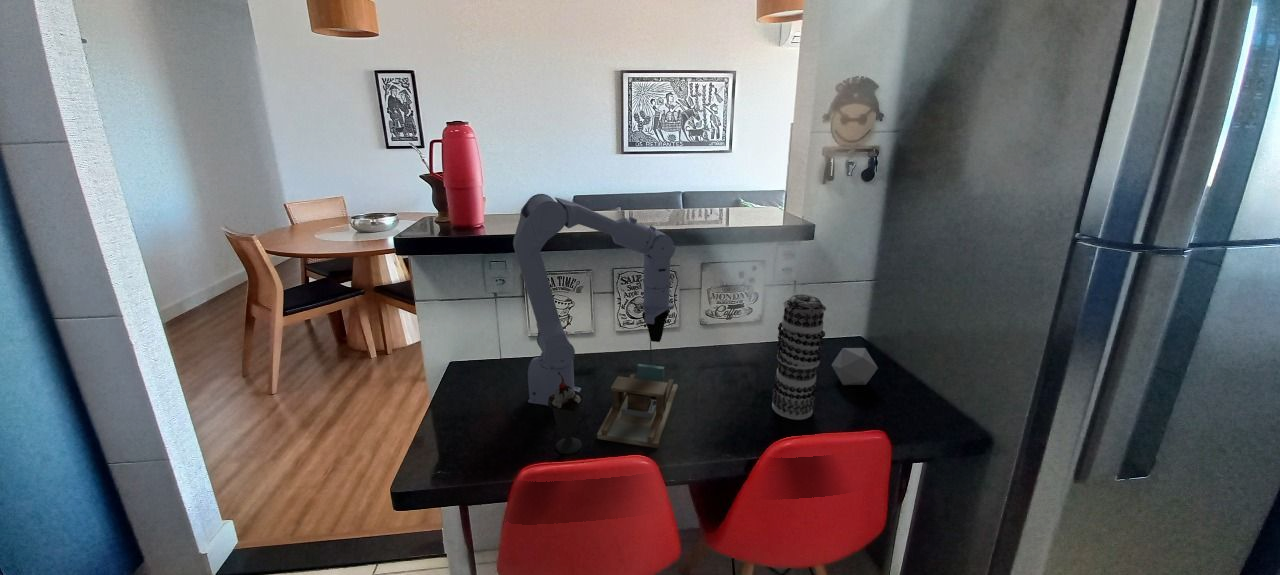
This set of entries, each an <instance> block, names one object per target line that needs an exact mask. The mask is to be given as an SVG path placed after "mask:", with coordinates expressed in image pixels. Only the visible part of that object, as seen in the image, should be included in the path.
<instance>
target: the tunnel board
mask: <svg viewBox="0 0 1280 575" xmlns="http://www.w3.org/2000/svg"><path fill="white" fill-rule="evenodd" d="M678 387H679V384H677V383H674V379H673V378H669V379H668V381H667V382H666V381H664V382H659V381H651V380H643V379H637V378H636V374H633V373H631V374H630V375H629V377H625V376H618V375H617V377H616V378H615V380H614V382H613V384H612V385H611V387H610V391H611V407H610V409H609V410H608V413H607V415H606V417H605V418H604V420H603V422H602V424H601V426H600V427H599V430H598V432H597V433H596V439H597V440H603V441H610V442H615V443H621V444H629V445H636V446H642V447H648V448H654V449H659V447H660V443H661V440H662V436H663V435H664V434H663V433H664V431H665V428H666V425H667V423H668V418H669V416H670V413H671V410H672V407H673V403H674V402H675V398H676V394H677V392H678ZM628 393H634V394H641V395H649V396H651V399H652V400H656V409H655V412H654V415H653V417H652V419H649V418H642V417H636V416H629V415H622V414H621V409H622V408H624V406H625V404H626V402H627V400H628Z"/></svg>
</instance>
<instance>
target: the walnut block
mask: <svg viewBox="0 0 1280 575" xmlns="http://www.w3.org/2000/svg"><path fill="white" fill-rule="evenodd" d="M650 405H651V396H649V395H641V394H634V393H628V409H630V410H637V411H644V412H648V410H649V407H650Z"/></svg>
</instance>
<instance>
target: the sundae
mask: <svg viewBox="0 0 1280 575" xmlns="http://www.w3.org/2000/svg"><path fill="white" fill-rule="evenodd" d="M558 374H559V375H560V372H558ZM560 376H561V375H560ZM561 377H562V376H561ZM583 395H584V394H582V393H581V392H577V391H574V390H573V389H572V388H571V387H569V386H566V383H564V379H563V377H562V383H560V385H559V389H558V390H557V391H556V393H555V394H553V395H551V396H550V397H549V398H548V405H547V406H548V407H549V408H550V409H552V410H553V415H554V420H555V424H556V426H557V428H558V430H560V431H561V432H564V436H565V437H564V438H561V439H560V440H559V441H558V442H557V443H556V444H555V449H556V451H557V452H558V453H560V454H563V455H572V454H576V453H577V452H579V451H580V450H581V449H582V447H583V443H582V441H581V440H580V439H579V438H576V437H573V435H572V432H573V431H575V429H576V428H577V427H578V426H579V422H580V414H581V407H582V405H583V404H584V402H585V400H586V398H585V396H583Z"/></svg>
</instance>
